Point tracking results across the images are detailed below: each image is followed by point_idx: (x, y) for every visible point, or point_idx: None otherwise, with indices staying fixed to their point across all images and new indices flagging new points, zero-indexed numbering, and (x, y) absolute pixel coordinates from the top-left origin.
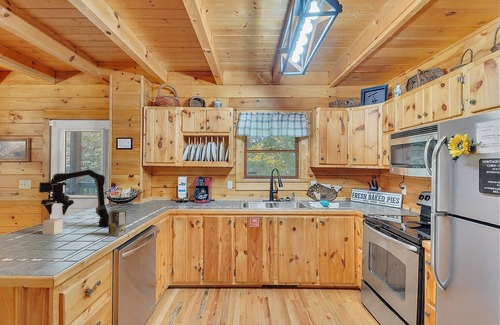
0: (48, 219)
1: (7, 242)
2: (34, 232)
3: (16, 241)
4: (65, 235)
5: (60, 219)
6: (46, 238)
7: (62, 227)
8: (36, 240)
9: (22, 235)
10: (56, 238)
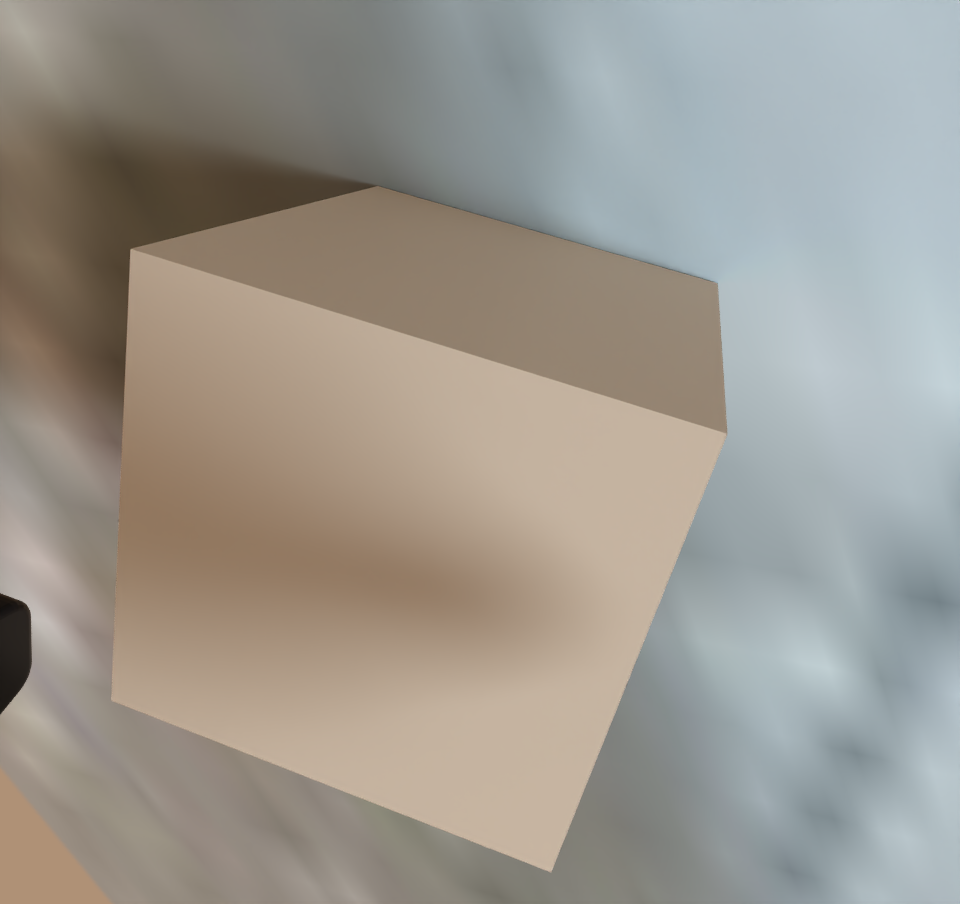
0: (124, 461)
1: (112, 869)
2: (58, 280)
3: (194, 858)
4: (931, 709)
5: (647, 543)
6: (582, 829)
7: (719, 319)
8: (466, 898)
9: (14, 508)
10: (789, 885)
